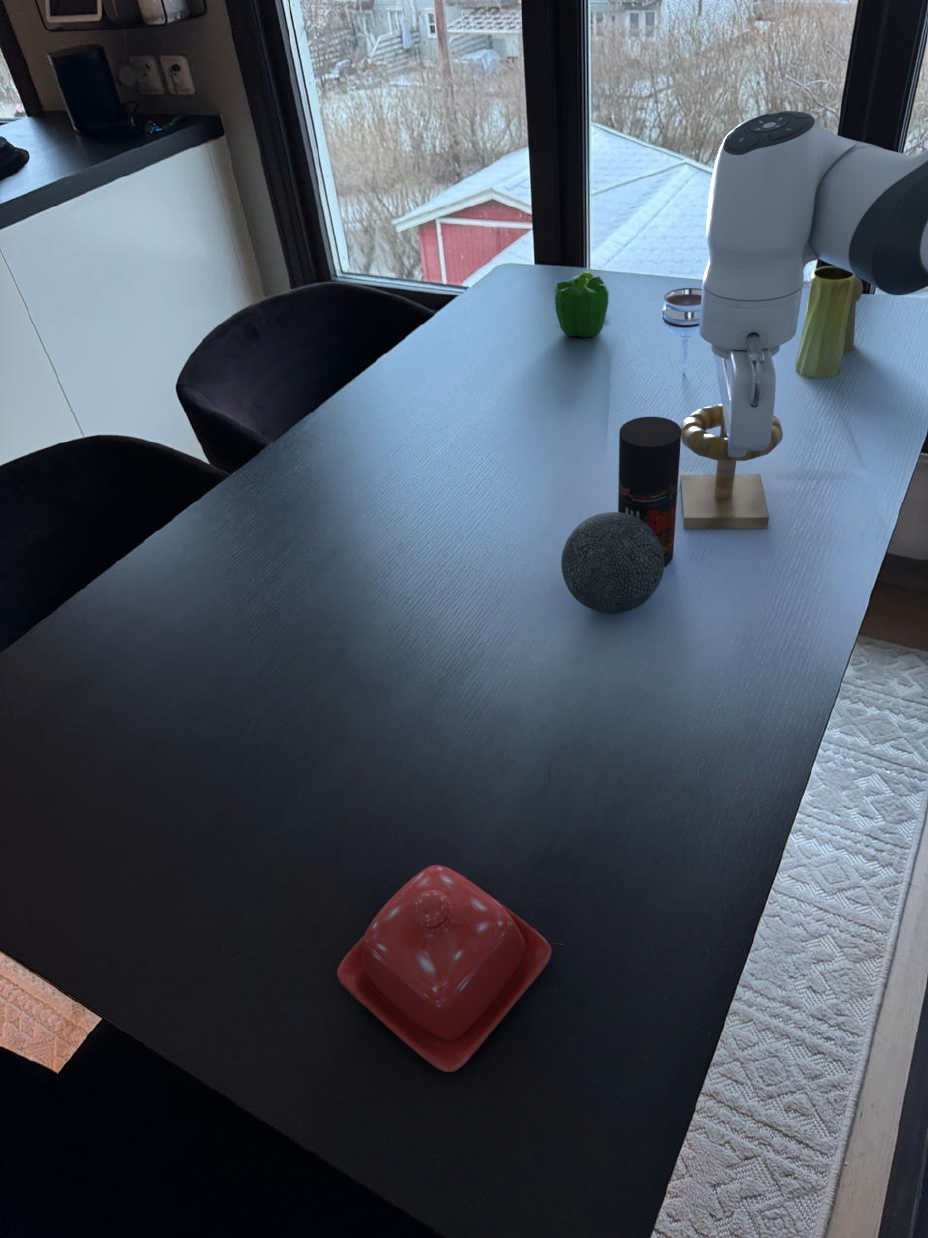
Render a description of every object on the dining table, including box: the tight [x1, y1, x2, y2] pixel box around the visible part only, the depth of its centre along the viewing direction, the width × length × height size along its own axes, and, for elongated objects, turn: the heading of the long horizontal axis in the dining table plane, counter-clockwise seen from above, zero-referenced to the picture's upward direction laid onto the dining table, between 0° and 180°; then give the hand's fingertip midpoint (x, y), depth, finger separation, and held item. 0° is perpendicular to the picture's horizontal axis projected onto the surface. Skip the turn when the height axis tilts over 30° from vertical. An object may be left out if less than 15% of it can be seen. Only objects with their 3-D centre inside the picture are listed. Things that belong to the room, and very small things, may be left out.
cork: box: [843, 275, 864, 355], centre depth 123 cm, size 6×6×11 cm
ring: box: [680, 403, 784, 462], centre depth 95 cm, size 10×10×2 cm
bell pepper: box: [554, 270, 610, 338], centre depth 138 cm, size 8×8×10 cm
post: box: [679, 410, 770, 530], centre depth 97 cm, size 9×9×12 cm
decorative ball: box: [560, 511, 665, 614], centre depth 87 cm, size 10×10×10 cm
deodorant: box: [617, 416, 682, 568], centre depth 91 cm, size 6×6×15 cm
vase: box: [794, 265, 856, 379], centre depth 118 cm, size 6×6×14 cm
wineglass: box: [661, 286, 702, 375], centre depth 121 cm, size 7×7×12 cm
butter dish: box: [336, 864, 553, 1073], centre depth 59 cm, size 12×12×8 cm
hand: (734, 444), depth 91 cm, fingers closed on ring, 2 cm apart
